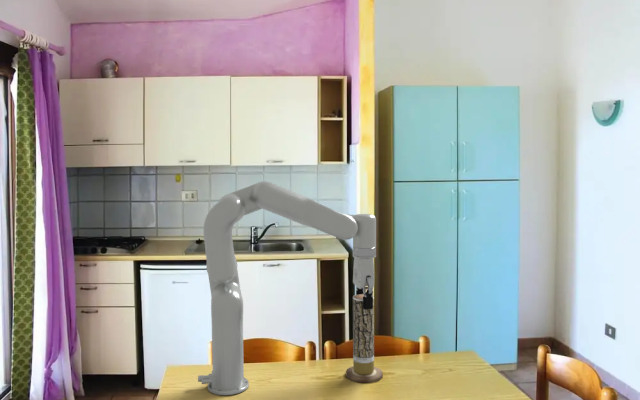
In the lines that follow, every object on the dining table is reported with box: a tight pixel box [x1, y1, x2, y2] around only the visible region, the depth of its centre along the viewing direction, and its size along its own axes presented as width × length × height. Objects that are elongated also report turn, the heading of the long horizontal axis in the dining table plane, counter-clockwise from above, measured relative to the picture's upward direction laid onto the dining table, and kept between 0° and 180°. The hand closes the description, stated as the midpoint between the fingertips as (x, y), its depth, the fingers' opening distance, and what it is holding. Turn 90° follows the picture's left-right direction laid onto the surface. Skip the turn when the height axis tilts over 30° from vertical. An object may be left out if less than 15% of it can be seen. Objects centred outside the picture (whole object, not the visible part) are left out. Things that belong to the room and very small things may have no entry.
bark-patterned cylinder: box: [352, 294, 375, 375], centre depth 173 cm, size 7×7×25 cm
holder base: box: [345, 366, 383, 384], centre depth 174 cm, size 12×12×1 cm
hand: (364, 305), depth 173 cm, fingers open, 8 cm apart
